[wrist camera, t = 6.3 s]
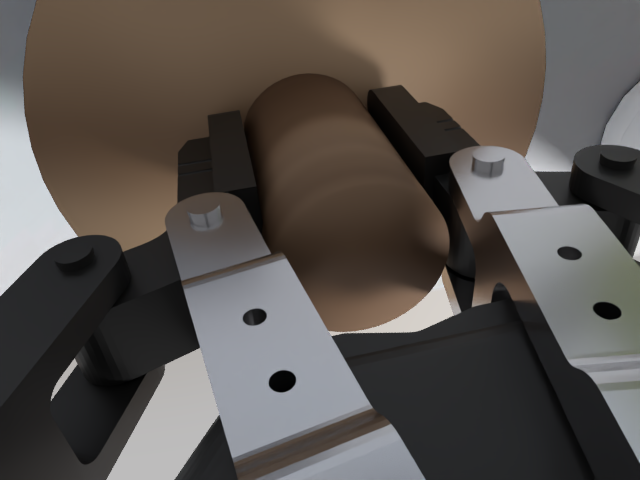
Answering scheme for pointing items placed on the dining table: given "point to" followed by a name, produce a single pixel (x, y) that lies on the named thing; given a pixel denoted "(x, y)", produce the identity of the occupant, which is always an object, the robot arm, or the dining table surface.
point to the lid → (279, 122)
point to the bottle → (625, 122)
